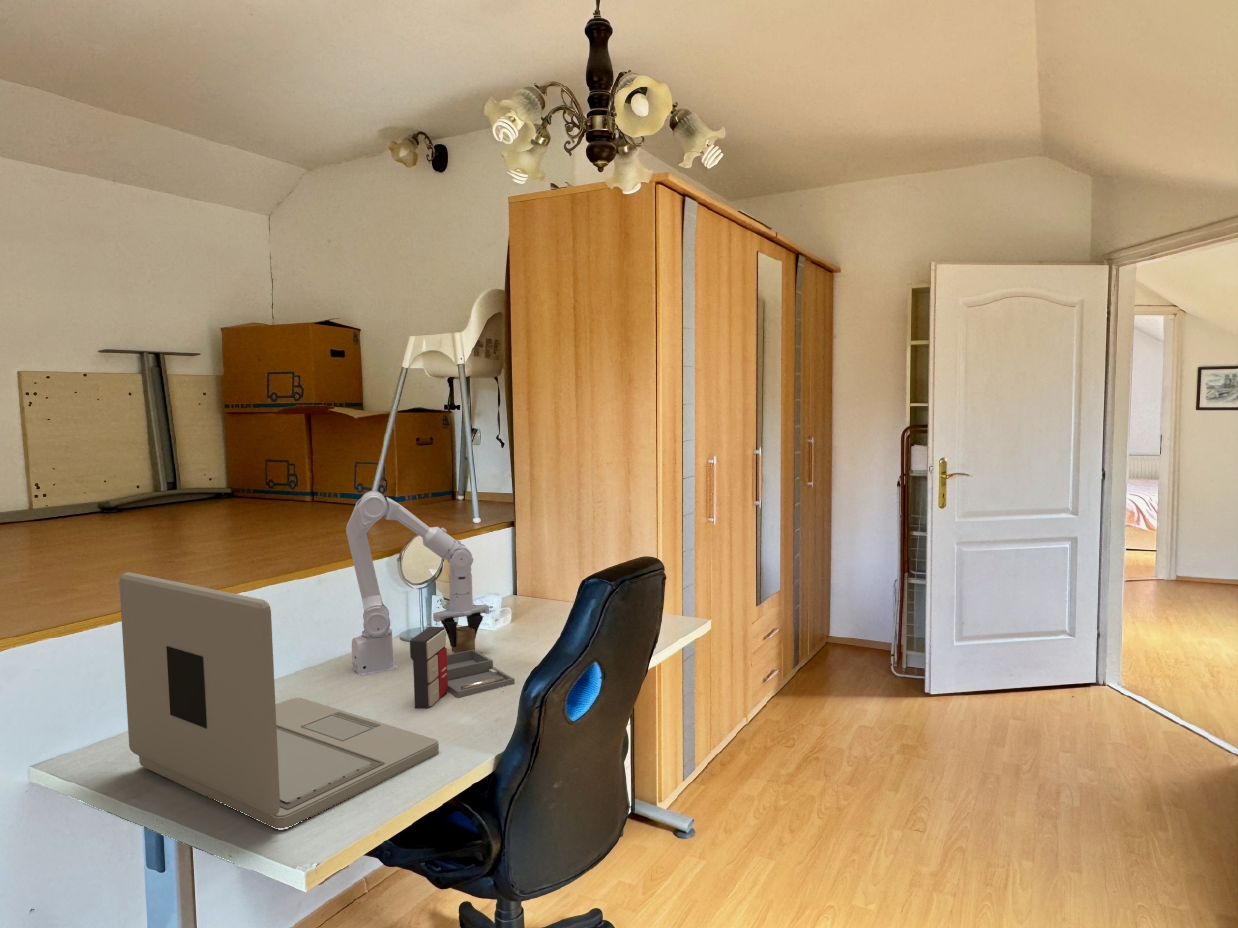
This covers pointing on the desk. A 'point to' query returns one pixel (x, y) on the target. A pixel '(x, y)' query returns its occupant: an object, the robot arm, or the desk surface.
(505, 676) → the case lid open
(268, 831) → the desk surface
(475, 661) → the case
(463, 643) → the module block
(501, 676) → the rod
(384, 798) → the desk surface
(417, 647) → the drawer chest
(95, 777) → the desk surface
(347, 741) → the laptop
